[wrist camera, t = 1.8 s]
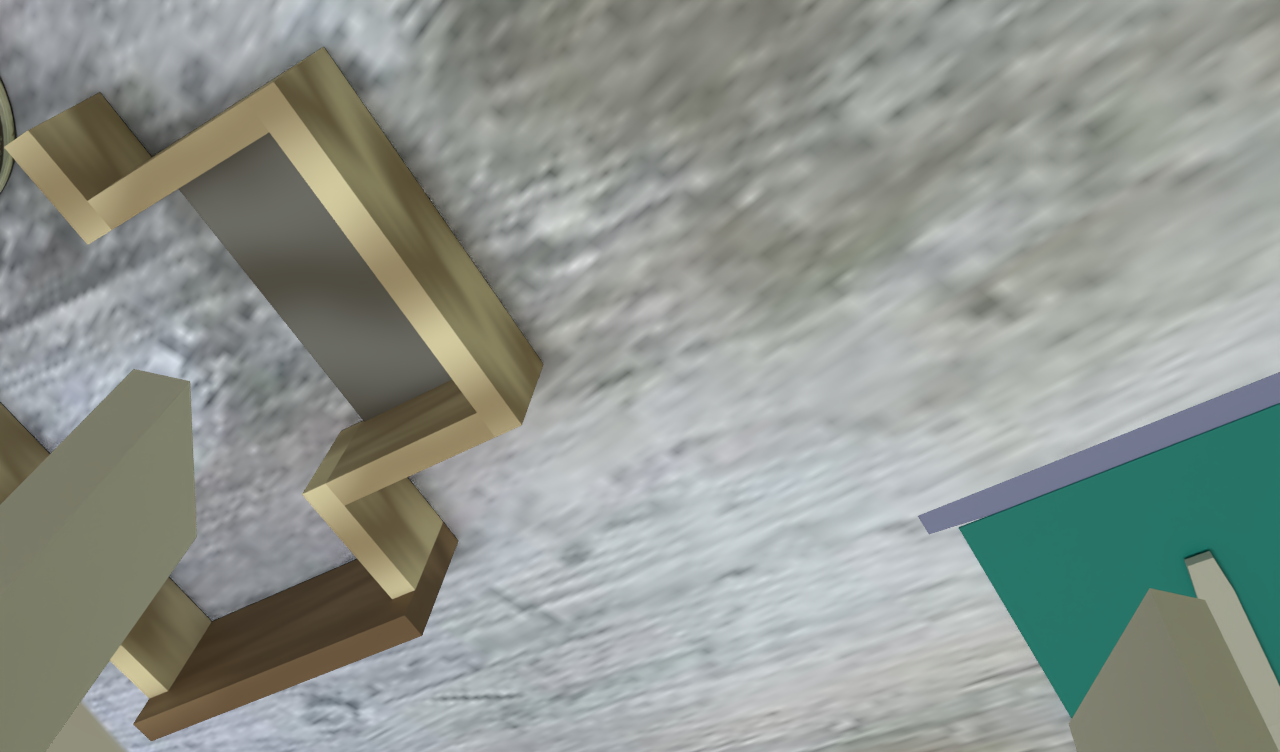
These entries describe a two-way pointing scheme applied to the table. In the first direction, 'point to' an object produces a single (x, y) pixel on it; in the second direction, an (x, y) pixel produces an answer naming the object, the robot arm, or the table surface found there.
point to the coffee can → (5, 136)
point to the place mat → (1142, 539)
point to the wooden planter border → (339, 342)
